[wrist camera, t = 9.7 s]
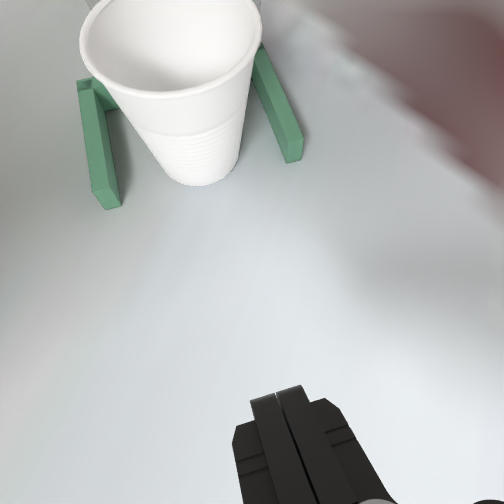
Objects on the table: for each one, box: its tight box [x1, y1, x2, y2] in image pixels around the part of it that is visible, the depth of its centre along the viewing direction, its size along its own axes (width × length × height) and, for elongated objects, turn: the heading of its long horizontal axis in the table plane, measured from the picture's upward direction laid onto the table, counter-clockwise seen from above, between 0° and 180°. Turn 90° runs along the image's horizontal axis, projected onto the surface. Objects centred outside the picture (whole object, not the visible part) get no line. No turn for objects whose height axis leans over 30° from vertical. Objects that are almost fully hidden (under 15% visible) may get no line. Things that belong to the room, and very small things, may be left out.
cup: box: [79, 0, 263, 186], centre depth 26 cm, size 10×10×11 cm
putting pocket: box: [76, 0, 304, 210], centre depth 25 cm, size 20×11×16 cm, turn 106°
